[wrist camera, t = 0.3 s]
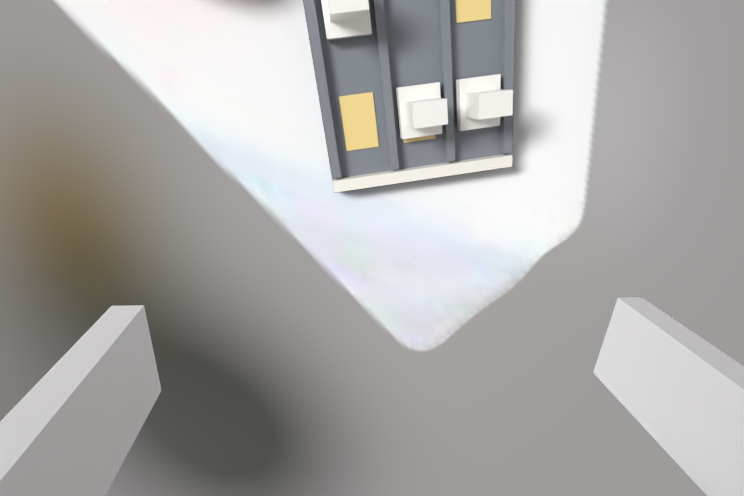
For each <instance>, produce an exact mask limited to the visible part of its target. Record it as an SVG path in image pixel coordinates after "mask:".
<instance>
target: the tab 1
mask: <svg viewBox="0 0 744 496" xmlns="http://www.w3.org/2000/svg"><path fill="white" fill-rule="evenodd" d="M321 4H322V11H323V17H324V24H325V31H326V38H327V40H335V39H343V38H350V37H358V36H366V35H371V34H372V29H371V20H370V11H369V1H368V0H321Z"/></svg>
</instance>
